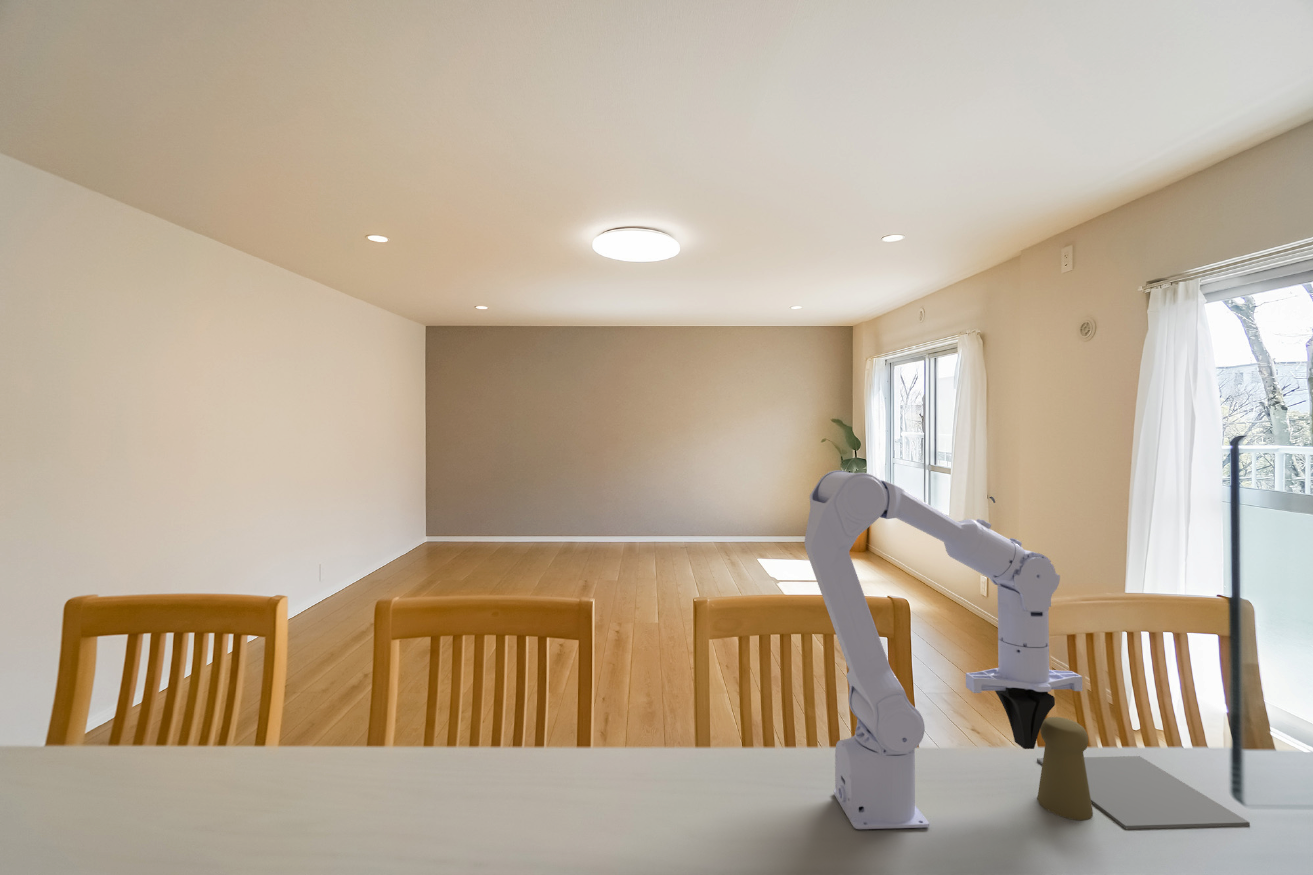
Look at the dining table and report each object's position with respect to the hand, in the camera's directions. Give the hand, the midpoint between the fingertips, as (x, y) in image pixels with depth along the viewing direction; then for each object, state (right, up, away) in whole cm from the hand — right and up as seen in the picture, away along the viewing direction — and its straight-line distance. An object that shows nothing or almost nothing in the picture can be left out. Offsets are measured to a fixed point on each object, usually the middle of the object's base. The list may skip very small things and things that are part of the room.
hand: (1024, 745), depth 78 cm
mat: (+17, -8, +4) cm, 19 cm away
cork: (+5, -8, 0) cm, 10 cm away
